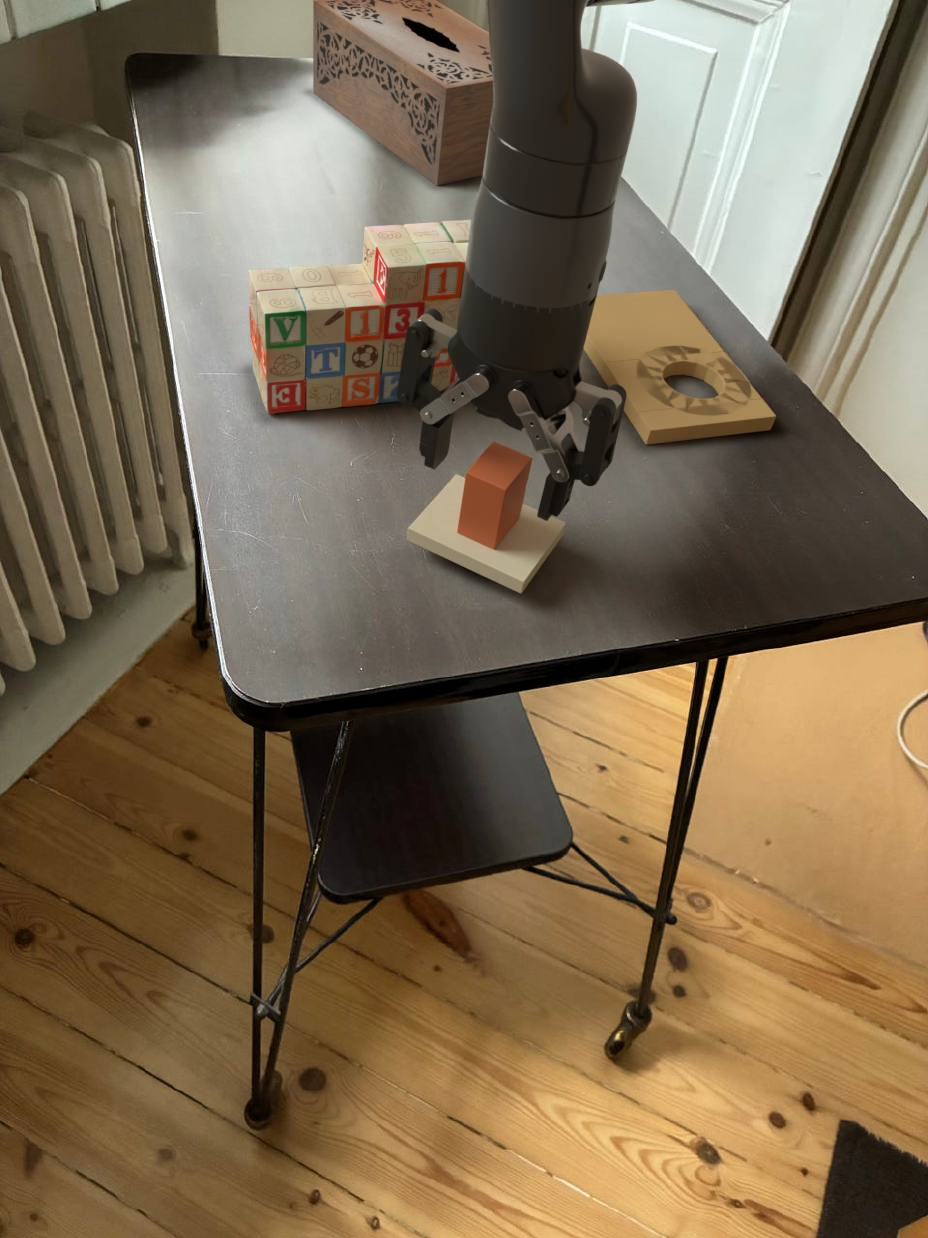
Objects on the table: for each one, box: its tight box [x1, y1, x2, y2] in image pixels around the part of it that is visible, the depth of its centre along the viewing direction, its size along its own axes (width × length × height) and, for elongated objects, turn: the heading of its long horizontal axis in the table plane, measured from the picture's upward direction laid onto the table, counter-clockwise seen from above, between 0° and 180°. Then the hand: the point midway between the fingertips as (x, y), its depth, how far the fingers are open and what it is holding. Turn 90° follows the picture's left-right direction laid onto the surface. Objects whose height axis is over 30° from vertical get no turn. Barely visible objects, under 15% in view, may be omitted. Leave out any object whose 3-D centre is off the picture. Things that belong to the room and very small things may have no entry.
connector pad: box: [406, 441, 567, 594], centre depth 68 cm, size 9×7×8 cm
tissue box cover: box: [312, 0, 493, 187], centre depth 113 cm, size 26×14×10 cm, turn 37°
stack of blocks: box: [247, 219, 472, 414], centre depth 78 cm, size 21×6×12 cm, turn 109°
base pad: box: [583, 289, 777, 446], centre depth 88 cm, size 20×12×2 cm, turn 18°
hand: (491, 486), depth 66 cm, fingers open, 8 cm apart
